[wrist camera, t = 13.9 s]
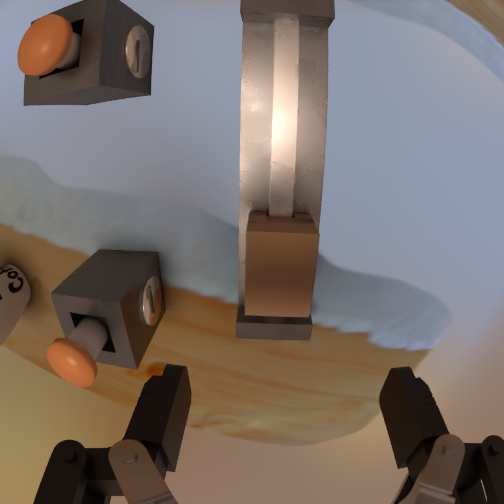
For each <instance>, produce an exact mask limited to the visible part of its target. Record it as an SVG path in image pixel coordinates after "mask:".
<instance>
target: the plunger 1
mask: <svg viewBox="0 0 504 504" xmlns="http://www.w3.org/2000/svg"><path fill="white" fill-rule="evenodd" d="M81 40H82V35H80V34H77V33H75V32H73V30H72V26H71V23H70V22H69V21H68V20H67V19H66V18H63V17H61V16H58V15H55V14H48V15H45V16H43V17H41V18H39V19H38V20H36V21H35V22H34V23H33V24H32V25H31V26H30V28H29V29H28V30H27V31H26V33H25V35H24V36H23V38H22V40H21V43H20V46H19V50H18V65H19V68H20V70H21V71H22V72H23V73H25V74H27V75H36V76H43V75H46V74H48V73H50V72H52V71H53V70H54V69H55V68H60V69H66V70H70V69H73V68H77V67H79V63H80V50H81Z"/></svg>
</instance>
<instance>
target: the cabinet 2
mask: <svg viewBox="0 0 504 504" xmlns="http://www.w3.org/2000/svg"><path fill="white" fill-rule="evenodd" d="M51 297H52V300H53V303H54V306H55V309H56V312H57V315H58V318H59V321H60V324H61V327H62V329H63V332H64V335H65V338H66V339H67V338H68V337H69V336H70V334H71V333H72V332H73V331H74V329H75V328H76V327H77V326H78V324H79V323H80V322H81V321H82V319H83V318H84V317H87V316H91V317H95V318H97V319H98V320H100V321H101V322H102V323H103V324H104V325H105V326H106V328H107V329H108V332H109V339H108V340H107V342H106V343H105V345H104V347H103V348H102V350H101V351H100V353H99V355H98V356H97V358H96V359H95V362H100V363H105V364H110V365H115V366H120V367H126V368H131V369H138V367H139V364H140V362H141V360H142V358H143V356H144V354H145V352H146V350H147V348H148V345H149V343H150V341H151V339H152V337H153V335H154V333H155V331H156V329H157V327H158V325H159V323H160V321H161V319H162V317H163V315H164V313H165V304H164V297H163V290H162V282H161V274H160V266H159V257H158V252H143V251H120V250H98V251H97V252H95V253H94V254H93V255H92V256H91V257H90V258H89V259H87V260H86V261H85V262H84V263H83V264H82V265H81V266H79V267H78V268H77V269H76V270H75V271H74V272H73V273H72V274H71V275H69V276H68V277H67V278H66V279H65V280H64V281H63V282H62V283H61V284H60V285H59V286H58V287H57V288H55V289H54V290H53V291H52V292H51Z"/></svg>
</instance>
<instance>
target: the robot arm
mask: <svg viewBox="0 0 504 504" xmlns="http://www.w3.org/2000/svg"><path fill="white" fill-rule="evenodd" d="M140 395H141V396H140V397H139V399H138V402H137V405H136V407H135V410H134V412H133V415H132V417H131V420H130V423H129V425H128V428H127V431H126V433H125V436H124V437H123V439H122V440H121V441H119V442H117V443H115V444H114V445H113V446H112V447H108V448H84V446H83V445H82V444H81V443H79V442H78V441H74V440H64V441H62V442H60V443H58V444H57V445H56V446H55V448H54V450H53V452H52V454H51V457H50V459H49V462H48V465H47V467H46V470H45V472H44V475H43V478H42V480H41V483H40V486H39V488H38V491H37V494H36V497H35V500H34V503H33V504H110V500H111V496H125V498H126V500H127V502H128V504H178V503H177V501H176V500H175V498H174V497H173V495H172V493H171V491H170V490H169V488H168V487H167V485H166V483H165V481H164V479H165V476H166V471H171V472H175V469H176V464H177V460H178V456H179V452H180V447H181V443H182V439H183V434H184V430H185V426H186V422H187V417H188V413H189V409H190V405H191V387H190V382H189V376H188V370H187V367H186V366H181V365H172V364H167V365H166V367H165V369H164V372H163V375H162V376H155V375H153V376H152V377H151V378H150V379H149V380H148V381H147V382H146V383H145V384H144V387H143V389H142V392H141V394H140ZM379 403H380V408H381V411H382V414H383V418H384V421H385V424H386V428H387V431H388V435H389V438H390V442H391V445H392V449H393V452H394V456H395V460H396V463H397V467H398V469H400V468H405V467H408V471H409V472H408V473H407V475H406V477H405V478H404V480H403V482H402V484H401V486H400V489H399V490H398V492H397V494H396V496H395V498H394V500H393V501H392V503H391V504H504V440H503V439H502V438H501V437H499V436H495V435H491V436H488V437H487V438H486V439H485V440H484V441H483V442H482V443H463V441H462V440H461V439H460V438H459V437H457V436H455V435H452V434H450V433H449V431H448V430H447V427H446V424H445V422H444V420H443V417H442V415H441V413H440V411H439V408H438V406H437V405H436V402H435V399H434V397H432V393H431V391H430V389H429V387H428V385H427V384H426V383H425V382H424V381H423V380H422V379H421V378H420V377H419V378H415V376H414V373H413V371H412V369H411V368H410V367H398V368H392V369H391V370H390V371H389V374H388V376H387V378H386V381H385V383H384V385H383V387H382V390H381V392H380V397H379ZM481 480H482V482H483V485H484V489H485V492H486V496H487V502H486V498H485V494H484V490H483V487H482V483H481Z"/></svg>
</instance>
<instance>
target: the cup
mask: <svg viewBox="0 0 504 504" xmlns="http://www.w3.org/2000/svg"><path fill="white" fill-rule="evenodd" d="M30 296H31V291H30V286H29V283H28V281H27V279H26V277H25V276H24V274H23V273H22V272H21V271H20V270H19V269H18V268H17V267H16V266H14V265H6V266H1V267H0V346H1V345H2V344H3V343H4V341H5V340H6V339H7V337H8V336H9V335H10V333H11V331H12V330H13V328H14V327H15V325H16V323H17V322H18V320H19V319H20V317H21V316H22V314H23V312H24V309H25V307H26V305H27V303H28V301H29V299H30Z"/></svg>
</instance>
